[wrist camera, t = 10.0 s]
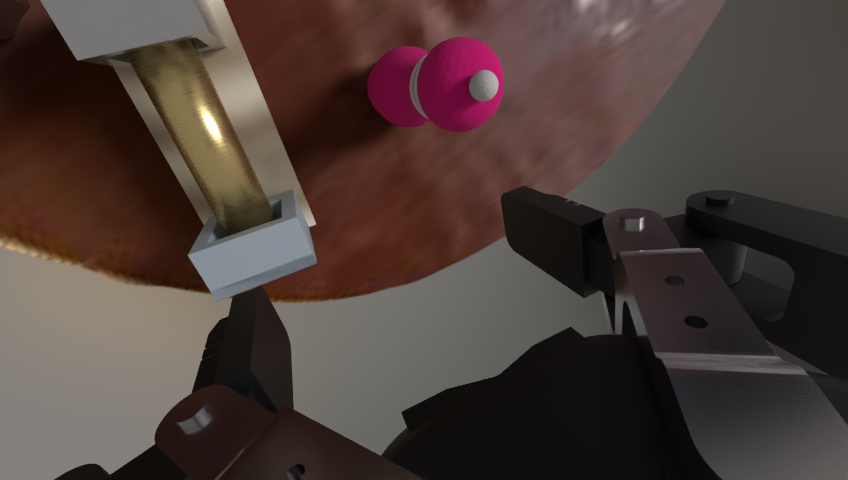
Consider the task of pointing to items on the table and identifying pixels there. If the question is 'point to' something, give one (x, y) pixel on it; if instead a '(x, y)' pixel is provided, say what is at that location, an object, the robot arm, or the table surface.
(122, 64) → the matte grey cuboid
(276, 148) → the board
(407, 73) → the pepper mill
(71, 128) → the table surface
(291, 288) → the table surface
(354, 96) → the table surface
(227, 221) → the tube
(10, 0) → the muffin
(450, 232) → the table surface
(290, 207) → the socket
